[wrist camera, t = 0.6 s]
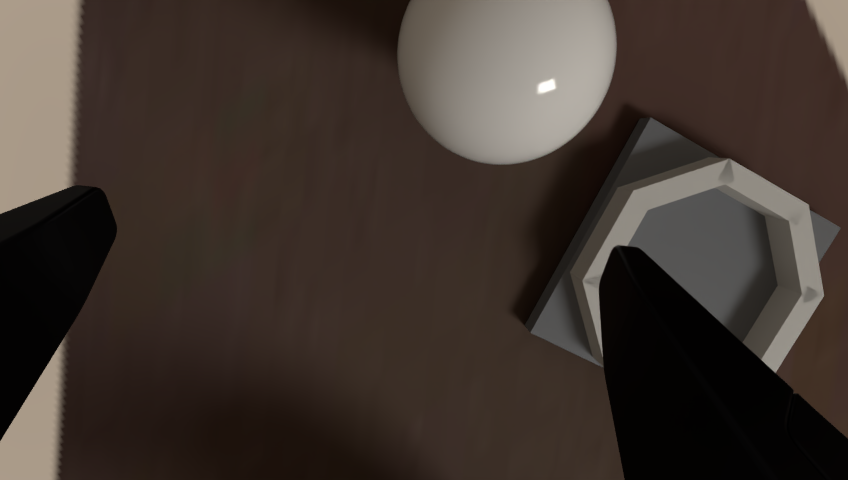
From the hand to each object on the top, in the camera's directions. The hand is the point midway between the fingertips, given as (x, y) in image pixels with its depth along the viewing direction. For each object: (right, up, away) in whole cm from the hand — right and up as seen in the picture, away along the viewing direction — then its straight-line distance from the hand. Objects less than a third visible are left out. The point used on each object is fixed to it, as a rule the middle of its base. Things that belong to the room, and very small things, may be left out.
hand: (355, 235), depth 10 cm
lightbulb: (+3, +7, +14) cm, 16 cm away
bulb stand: (+13, -2, +17) cm, 22 cm away
